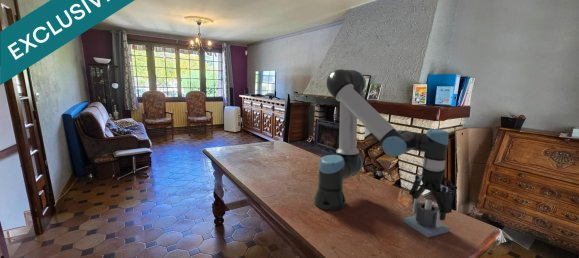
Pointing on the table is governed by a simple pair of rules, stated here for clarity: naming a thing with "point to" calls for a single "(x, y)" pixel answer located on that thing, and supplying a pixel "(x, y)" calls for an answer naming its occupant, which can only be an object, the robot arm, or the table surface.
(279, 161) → the table surface
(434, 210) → the hub
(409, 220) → the shaft block
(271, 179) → the table surface
